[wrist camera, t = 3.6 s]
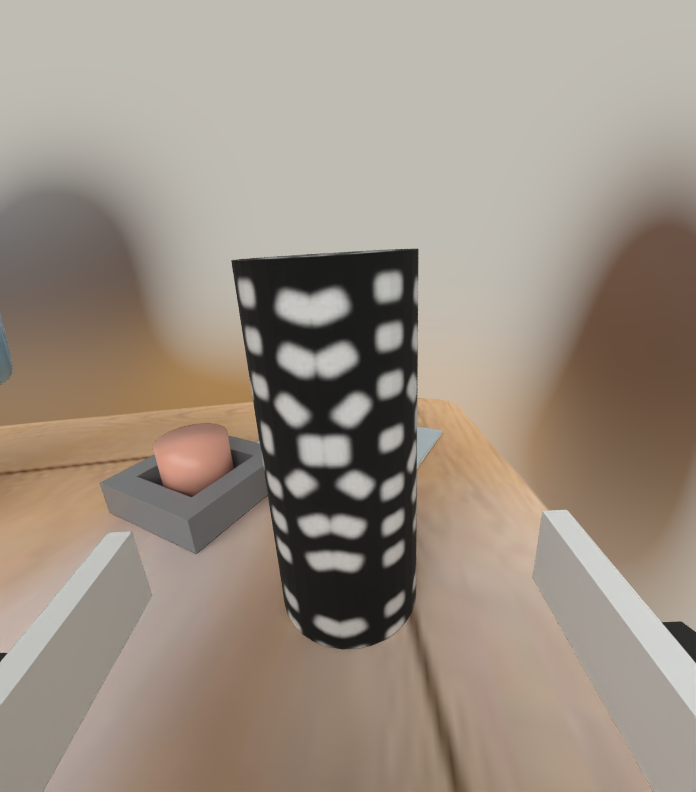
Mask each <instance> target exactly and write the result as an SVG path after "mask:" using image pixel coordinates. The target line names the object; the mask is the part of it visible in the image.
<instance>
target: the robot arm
mask: <svg viewBox="0 0 696 792" xmlns="http://www.w3.org/2000/svg"><path fill="white" fill-rule="evenodd" d="M12 369H13V368H12V361H11V356H10V352H9V347H8V343H7V338H6V334H5V330H4V326H3V322H2V318H1V314H0V385H1V384H3V383H5V382H6V381H7V380H8V379H9V378H10V376H11V374H12ZM533 579H534V581H535V583H536V585H537V586H538V588H539V590H540V592H541V593H542V595H543V597H544V599H545V600H546V602H547V604H548V606H549V608H550V609H551V611H552V613H553V615H554V616H555V618H556V620H557V622H558V624H559V625H560V627H561V629H562V631H563V632H564V634H565V636H566V638H567V640H568V641H569V643H570V645H571V647H572V648H573V650H574V652H575V654H576V655H577V657H578V659H579V661H580V663H581V664H582V666H583V668H584V670H585V671H586V673H587V675H588V677H589V679H590V680H591V682H592V684H593V686H594V687H595V689H596V691H597V693H598V694H599V696H600V698H601V700H602V702H603V703H604V705H605V707H606V709H607V710H608V712H609V714H610V716H611V718H612V719H613V721H614V723H615V725H616V726H617V728H618V730H619V732H620V734H621V735H622V737H623V739H624V741H625V742H626V744H627V746H628V748H629V749H630V751H631V753H632V755H633V757H634V758H635V760H636V762H637V764H638V765H639V767H640V769H641V771H642V773H643V774H644V776H645V778H646V780H647V781H648V783H649V785H650V787H651V788H652V790H653V792H696V632H695V631H693V630H692V629H691V628H689V627H688V626H687V625H685V624H684V623H683V622H661V621H660V620H659V619H658V618H657V616H656V615H655V614H654V613H653V612H652V610H651V609H650V608H649V607H648V606H647V605H646V603H645V602H644V601H643V600H642V599H641V597H639V595H638V594H637V593H636V592H635V590H634V589H633V588H632V587H631V585H630V584H629V583H628V582H627V581H626V580H625V578H624V577H623V576H622V575H621V574H620V572H619V571H618V570H617V569H616V568H615V567H614V565H613V564H612V563H611V562H610V560H609V559H608V558H607V557H606V556H605V555H604V554H603V552H602V551H601V550H600V549H599V547H598V546H597V545H596V544H595V543H594V542H593V540H592V539H591V538H590V537H589V536H588V534H587V533H586V532H585V531H584V530H583V528H582V527H581V526H580V525H579V524H578V522H577V521H576V520H575V519H574V518H573V516H572V515H571V514H570V513H569V512H568V510H554V511H542V518H541V525H540V532H539V538H538V545H537V552H536V559H535V565H534V572H533ZM151 597H152V594H151V590H150V587H149V584H148V581H147V578H146V575H145V572H144V568H143V565H142V562H141V559H140V556H139V553H138V550H137V546H136V543H135V540H134V537H133V534H132V531H131V532H111V533H107V535H106V536H105V537H104V538H103V539H102V541H101V542H100V543H99V544H98V545H97V547H96V548H95V549H94V550H93V551H92V553H91V554H90V555H89V556H88V557H87V559H86V560H85V561H84V562H83V563H82V565H81V566H80V567H79V568H78V569H77V571H76V572H75V573H74V574H73V575H72V577H71V578H70V579H69V580H68V581H67V583H66V584H65V585H64V586H63V587H62V589H61V590H60V591H59V592H58V593H57V595H56V596H55V597H54V598H53V599H52V601H51V602H50V603H49V604H48V605H47V607H46V608H45V609H44V610H43V611H42V613H41V614H40V615H39V616H38V617H37V619H36V620H35V621H34V622H33V623H32V625H31V626H30V627H29V628H28V629H27V631H26V632H25V633H24V634H23V635H22V637H21V638H20V639H19V640H18V641H17V643H16V644H15V645H14V646H13V647H12V649H11V650H10V651H9V652H8V653H0V792H43V791H44V789H45V787H46V785H47V783H48V782H49V780H50V778H51V776H52V774H53V773H54V771H55V769H56V767H57V765H58V764H59V762H60V760H61V758H62V756H63V755H64V753H65V751H66V749H67V747H68V746H69V744H70V742H71V740H72V738H73V737H74V735H75V733H76V731H77V729H78V728H79V726H80V724H81V722H82V721H83V719H84V717H85V715H86V713H87V712H88V710H89V708H90V706H91V704H92V703H93V701H94V699H95V697H96V695H97V694H98V692H99V690H100V688H101V686H102V685H103V683H104V681H105V679H106V677H107V676H108V674H109V672H110V670H111V668H112V667H113V665H114V663H115V661H116V659H117V658H118V656H119V654H120V652H121V651H122V649H123V647H124V645H125V643H126V642H127V640H128V638H129V636H130V634H131V633H132V631H133V629H134V627H135V625H136V624H137V622H138V620H139V618H140V616H141V615H142V613H143V611H144V609H145V607H146V606H147V604H148V602H149V600H150V598H151Z"/></svg>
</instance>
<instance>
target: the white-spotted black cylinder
mask: <svg viewBox="0 0 696 792" xmlns="http://www.w3.org/2000/svg"><path fill="white" fill-rule="evenodd" d="M232 268H233V273H234V280H235V287H236V293H237V300H238V306H239V313H240V319H241V325H242V332H243V338H244V345H245V351H246V357H247V363H248V370H249V377H250V383H251V389H252V395H253V402H254V409H255V415H256V422H257V428H258V434H259V441H260V447H261V454H262V460H263V466H264V473H265V479H266V486H267V492H268V498H269V505H270V511H271V518H272V524H273V531H274V537H275V543H276V550H277V556H278V563H279V569H280V575H281V582H282V588H283V595H284V601H285V606H286V609H287V613H288V616H289V617H290V619H291V621H292V623H293V624H294V626H295V627H296V628H297V629H298V630H299V631H300V632H301V633H302V634H303V635H305V636H306V637H308V638H309V639H311V640H312V641H314V642H316V643H319V644H322V645H324V646H327V647H333V648H338V649H357V648H362V647H367V646H371V645H374V644H376V643H378V642H381V641H383V640H385V639H387V638H388V637H389V636H391V635H392V634H394V633H395V632H397V631H398V629H399V628H400V627H401V626H402V625H403V624H404V623H405V622H406V620H407V619H408V617H409V615H410V614H411V612H412V609H413V606H414V603H415V597H416V511H417V366H418V364H417V362H418V361H417V360H418V356H417V355H418V354H417V353H418V249H396V250H377V251H376V250H375V251H357V252H340V253H325V254H324V253H323V254H307V255H292V256H278V257H264V258H251V259H239V260H232Z"/></svg>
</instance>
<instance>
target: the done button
mask: <svg viewBox="0 0 696 792" xmlns="http://www.w3.org/2000/svg"><path fill="white" fill-rule="evenodd" d="M153 450H154V454H155V458H156V461H157V465H158V469H159V473H160V476H161V480H162V484H163V487H165V488H168V489H171V490H173V491H176V492H179V493H181V494H184V495H187V496H189V497H193V496H195V495H196V494H198V493H199V492H200V491H202V490H203V489H205V488H206V487H208V486H209V485H211V484H212V483H214V482H215V481H217V480H218V479H220V478H221V477H223V476H224V475H226V474H227V473H229V472H230V471H232V470H233V469H234V466H233V460H232V455H231V450H230V444H229V439H228V434H227V430H226V428H225V427H223V426H221V425H218V424H210V423H203V424H194V425H189V426H184V427H181V428H178V429H175V430H172V431H170V432H168V433H166V434H164V435H163V436H161V437H160V438H158V439H157V440H156V441H155V443H154V444H153Z"/></svg>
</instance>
